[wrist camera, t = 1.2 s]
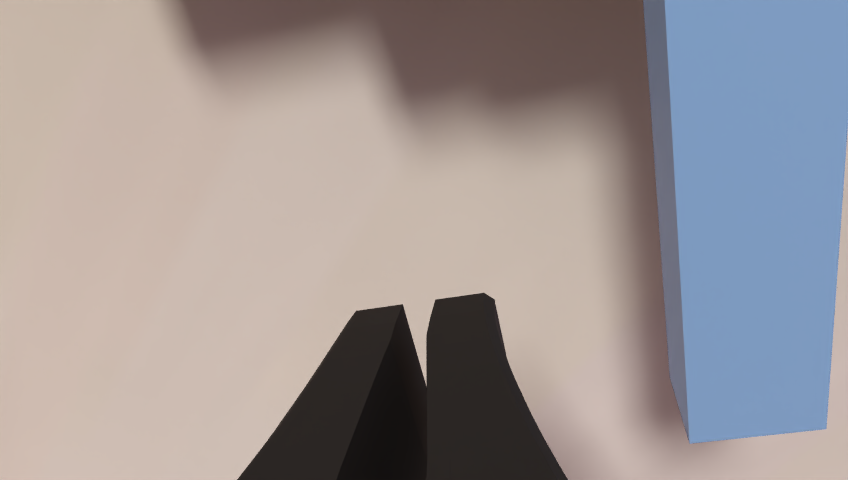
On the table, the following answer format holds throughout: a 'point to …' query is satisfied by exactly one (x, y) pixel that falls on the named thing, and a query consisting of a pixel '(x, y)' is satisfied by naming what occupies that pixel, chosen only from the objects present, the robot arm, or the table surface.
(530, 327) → the table surface
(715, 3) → the lever
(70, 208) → the table surface
